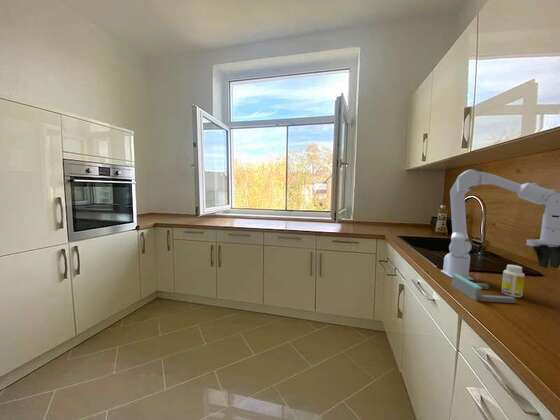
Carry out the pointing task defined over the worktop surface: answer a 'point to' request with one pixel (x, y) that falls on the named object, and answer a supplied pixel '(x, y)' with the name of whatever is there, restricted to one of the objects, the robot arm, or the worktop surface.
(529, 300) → the worktop surface
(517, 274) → the supplement bottle
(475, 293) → the bay
